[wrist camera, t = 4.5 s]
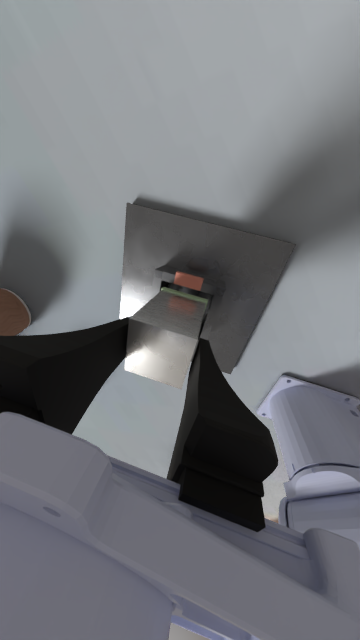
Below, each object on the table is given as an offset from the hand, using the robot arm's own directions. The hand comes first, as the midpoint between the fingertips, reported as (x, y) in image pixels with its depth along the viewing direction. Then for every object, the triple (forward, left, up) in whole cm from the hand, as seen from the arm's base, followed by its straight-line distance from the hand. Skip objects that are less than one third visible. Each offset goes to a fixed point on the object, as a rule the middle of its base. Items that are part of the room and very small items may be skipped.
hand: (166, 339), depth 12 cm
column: (0, 0, -5) cm, 5 cm away
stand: (0, 0, -9) cm, 9 cm away
